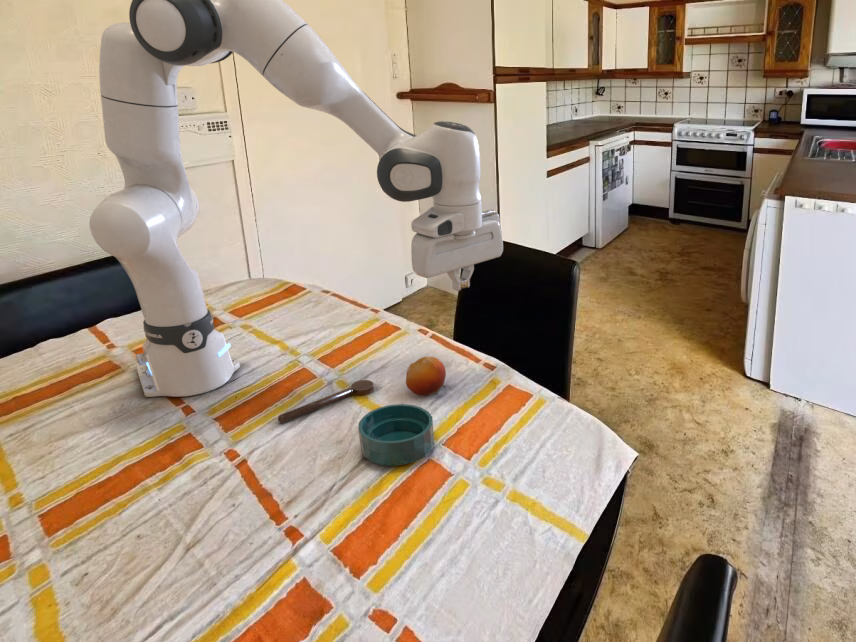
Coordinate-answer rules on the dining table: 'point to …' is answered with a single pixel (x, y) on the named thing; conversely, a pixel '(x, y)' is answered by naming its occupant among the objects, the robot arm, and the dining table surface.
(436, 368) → the fruit
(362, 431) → the bowl
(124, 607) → the dining table surface
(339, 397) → the spoon
